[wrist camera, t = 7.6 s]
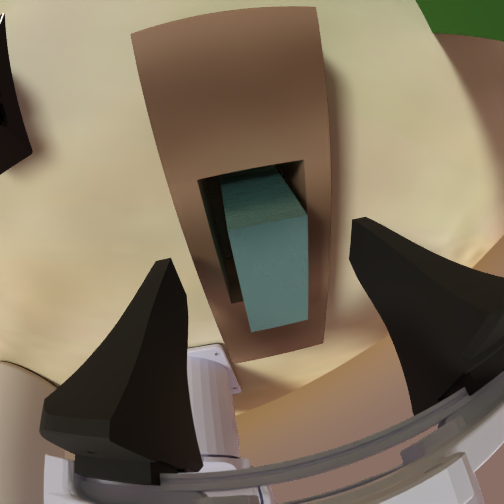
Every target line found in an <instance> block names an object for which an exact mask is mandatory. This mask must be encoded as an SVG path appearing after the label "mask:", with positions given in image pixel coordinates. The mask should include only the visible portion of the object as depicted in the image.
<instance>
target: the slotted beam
mask: <svg viewBox="0 0 504 504" xmlns="http://www.w3.org/2000/svg"><path fill="white" fill-rule="evenodd" d="M131 39H132V44H133V49H134V54H135V59H136V64H137V69H138V73H139V78H140V82H141V86H142V91H143V95H144V99H145V103H146V107H147V111H148V115H149V119H150V123H151V127H152V131H153V134H154V138H155V142H156V145H157V149H158V152H159V156H160V160H161V163H162V166H163V170H164V173H165V177H166V180H167V183H168V187H169V190H170V193H171V196H172V199H173V203H174V206H175V209H176V212H177V215H178V218H179V221H180V224H181V227H182V230H183V233H184V236H185V239H186V242H187V245H188V248H189V251H190V254H191V257H192V259H193V262H194V265H195V268H196V271H197V273H198V276H199V279H200V282H201V284H202V287H203V290H204V292H205V295H206V298H207V300H208V303H209V305H210V308H211V311H212V313H213V316H214V318H215V321H216V323H217V326H218V328H219V331H220V333H221V336H222V338H223V341H224V343H225V346H226V348H227V350H228V353H229V355H230V358H231V360H232V362H233V364H235V363H241V362H246V361H251V360H256V359H261V358H265V357H270V356H274V355H279V354H283V353H287V352H291V351H295V350H299V349H303V348H307V347H311V346H314V345H318V344H322V343H323V340H324V330H325V319H326V308H327V295H328V280H329V261H330V234H331V162H330V136H329V118H328V104H327V91H326V80H325V71H324V62H323V53H322V45H321V38H320V31H319V24H318V18H317V12H316V7H296V6H289V7H261V8H248V9H239V10H230V11H223V12H216V13H210V14H204V15H199V16H194V17H189V18H185V19H180V20H176V21H172V22H168V23H165V24H161V25H157V26H154V27H151V28H147V29H144V30H141V31H138V32H135V33H132V34H131ZM279 163H283V167H284V177H285V182H286V184H287V185H288V187H289V188H290V189H291V191H292V192H293V194H294V195H295V197H296V198H297V200H298V201H299V203H300V205H301V206H302V208H303V209H304V211H305V212H306V214H307V216H308V320H304V321H300V322H296V323H291V324H287V325H283V326H278V327H274V328H269V329H265V330H260V331H255V332H251V329H250V325H249V321H248V317H247V313H246V308H245V304H244V300H243V296H242V291H241V287H240V283H239V279H238V274H237V270H236V266H235V261H234V258H230V259H226V260H225V257H224V253H223V249H222V245H221V242H220V238H219V234H218V230H217V226H216V222H215V218H214V214H213V210H212V206H211V202H210V198H209V194H208V190H207V186H206V182H205V178H207V177H212V176H216V175H221V174H226V173H230V172H235V171H240V170H245V169H251V168H256V167H262V166H267V165H273V164H279Z"/></svg>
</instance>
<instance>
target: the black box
mask: <svg viewBox="0 0 504 504" xmlns="http://www.w3.org/2000/svg"><path fill="white" fill-rule="evenodd" d="M32 152H33V151H32V147H31V145H30V142H29V139H28V136H27V132H26V129H25V126H24V123H23V119H22V116H21V112H20V108H19V105H18V101H17V97H16V92H15V88H14V83H13V78H12V73H11V67H10V61H9V55H8V47H7V39H6V27H5V14H4V13H3V14H1V15H0V175H1V174H2V173H3V172H5V171H6V170H8V169H9V168H11V167H12V166H14V165H15V164H17V163H18V162H20V161H22V160H23V159H25V158H26V157H28V156H30V155H31V154H32Z"/></svg>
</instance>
